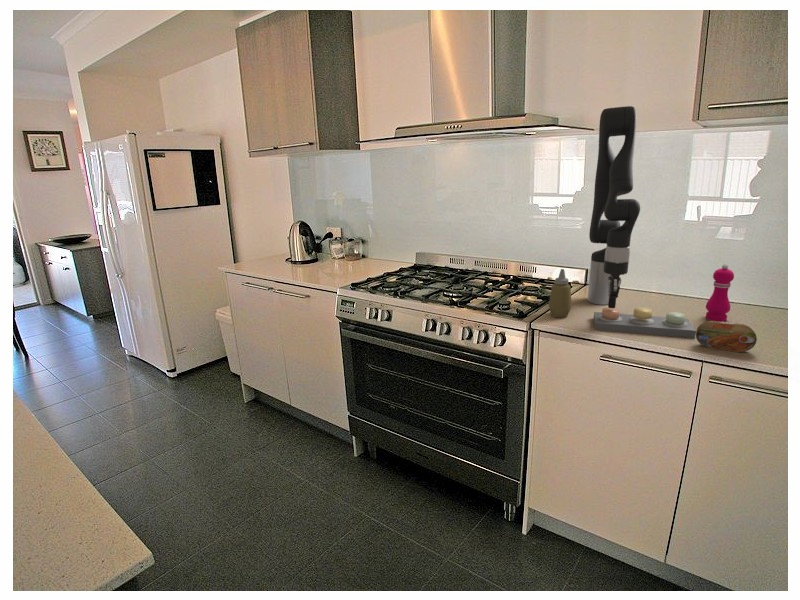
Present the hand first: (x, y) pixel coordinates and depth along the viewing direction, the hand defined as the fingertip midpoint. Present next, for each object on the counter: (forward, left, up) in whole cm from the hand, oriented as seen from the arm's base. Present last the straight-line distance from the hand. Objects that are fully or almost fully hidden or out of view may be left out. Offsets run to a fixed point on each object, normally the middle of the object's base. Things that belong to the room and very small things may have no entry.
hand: (611, 307), depth 161 cm
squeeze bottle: (-6, -17, -7) cm, 19 cm away
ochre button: (0, +10, -3) cm, 10 cm away
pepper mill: (-16, +36, -7) cm, 40 cm away
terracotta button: (0, 0, -3) cm, 3 cm away
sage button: (0, +20, -3) cm, 20 cm away
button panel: (0, +10, -7) cm, 12 cm away
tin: (+13, +31, -7) cm, 34 cm away
